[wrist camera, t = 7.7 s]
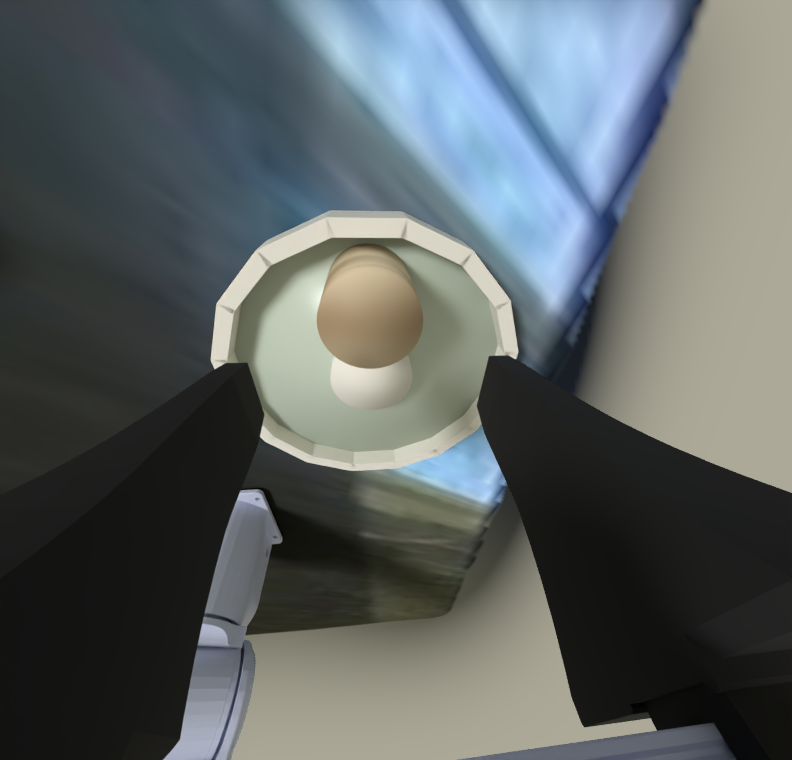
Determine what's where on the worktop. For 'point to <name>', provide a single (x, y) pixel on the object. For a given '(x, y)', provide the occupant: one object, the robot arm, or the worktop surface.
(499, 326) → the groove tray
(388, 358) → the maple bead
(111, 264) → the worktop surface
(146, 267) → the worktop surface
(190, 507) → the robot arm
